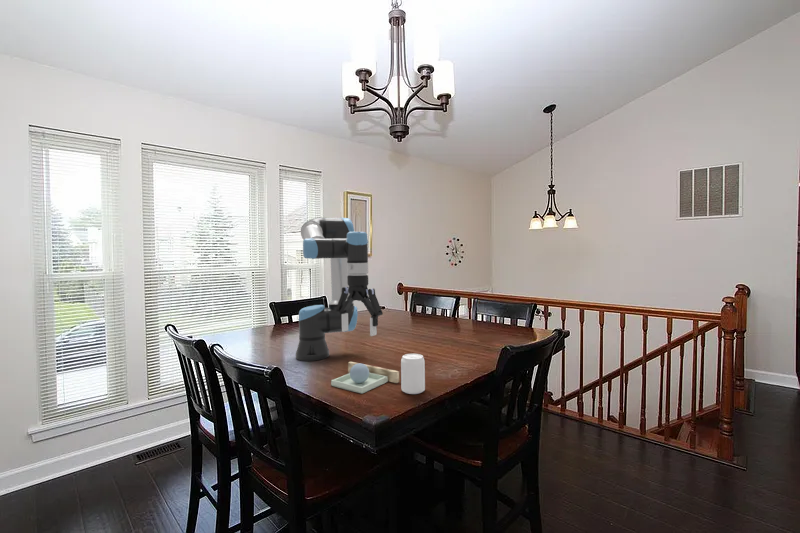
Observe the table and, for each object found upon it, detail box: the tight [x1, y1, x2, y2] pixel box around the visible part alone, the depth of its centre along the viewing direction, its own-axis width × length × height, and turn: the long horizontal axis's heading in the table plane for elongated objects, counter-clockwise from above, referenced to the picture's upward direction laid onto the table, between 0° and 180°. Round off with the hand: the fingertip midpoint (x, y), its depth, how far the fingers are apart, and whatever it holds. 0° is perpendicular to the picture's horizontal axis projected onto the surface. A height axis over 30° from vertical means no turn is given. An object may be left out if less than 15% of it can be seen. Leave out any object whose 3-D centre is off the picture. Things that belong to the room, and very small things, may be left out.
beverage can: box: [400, 353, 426, 395], centre depth 133 cm, size 8×8×12 cm
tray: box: [330, 372, 389, 395], centre depth 141 cm, size 14×14×2 cm
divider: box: [347, 360, 400, 384], centre depth 148 cm, size 24×2×4 cm, turn 55°
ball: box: [350, 362, 369, 383], centre depth 141 cm, size 7×7×7 cm
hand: (358, 333), depth 140 cm, fingers open, 13 cm apart
